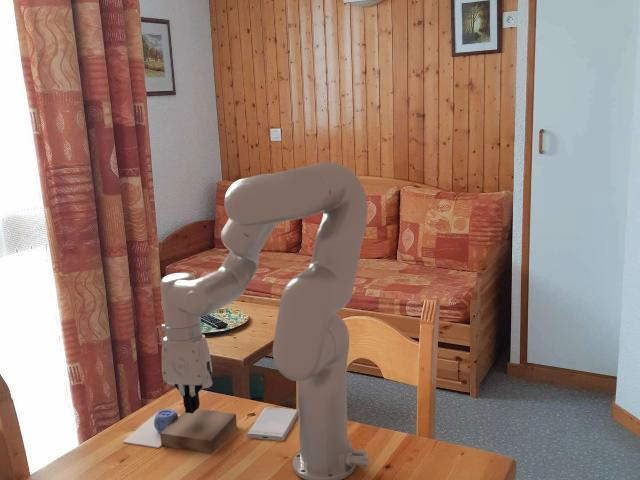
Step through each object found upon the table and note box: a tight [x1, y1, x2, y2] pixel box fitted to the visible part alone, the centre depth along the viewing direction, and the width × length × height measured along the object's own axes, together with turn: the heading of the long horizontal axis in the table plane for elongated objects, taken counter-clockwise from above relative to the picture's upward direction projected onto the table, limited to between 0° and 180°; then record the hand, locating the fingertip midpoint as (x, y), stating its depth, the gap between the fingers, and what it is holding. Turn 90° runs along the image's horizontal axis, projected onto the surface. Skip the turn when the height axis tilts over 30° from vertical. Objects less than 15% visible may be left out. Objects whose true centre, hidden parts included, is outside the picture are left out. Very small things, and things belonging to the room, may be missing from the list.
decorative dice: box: [154, 408, 179, 433], centre depth 143 cm, size 4×4×4 cm
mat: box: [122, 411, 181, 449], centre depth 144 cm, size 9×14×1 cm, turn 162°
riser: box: [160, 408, 238, 455], centre depth 140 cm, size 12×12×3 cm
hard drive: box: [246, 406, 299, 442], centre depth 144 cm, size 2×8×12 cm
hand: (192, 410), depth 140 cm, fingers closed
